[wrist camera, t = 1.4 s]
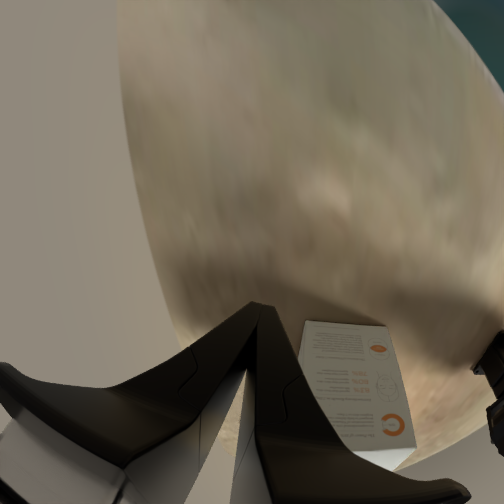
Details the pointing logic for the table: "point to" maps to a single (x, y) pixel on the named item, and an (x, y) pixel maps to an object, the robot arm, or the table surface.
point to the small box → (359, 389)
